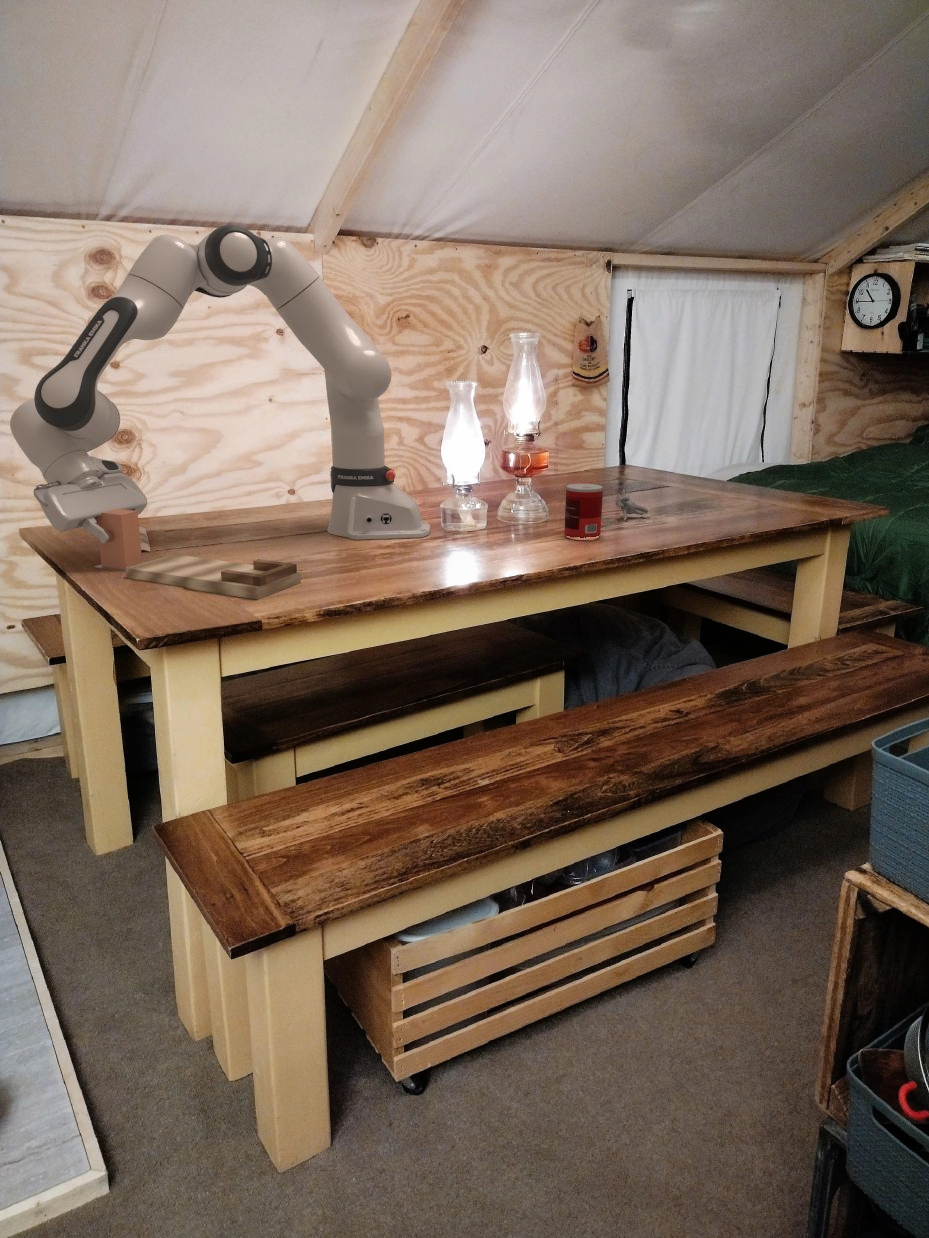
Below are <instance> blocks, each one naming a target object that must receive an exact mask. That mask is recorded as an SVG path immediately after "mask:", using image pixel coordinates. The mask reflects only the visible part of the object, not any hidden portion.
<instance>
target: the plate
mask: <svg viewBox="0 0 929 1238" xmlns="http://www.w3.org/2000/svg"><path fill="white" fill-rule="evenodd" d="M93 568H97V569H104V570H111V571H118V572H124V573H126V570H123V569H116V568H110V567H103V566H101V564H99V565H95V566H93Z"/></svg>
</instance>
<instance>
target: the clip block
mask: <svg viewBox="0 0 929 1238" xmlns="http://www.w3.org/2000/svg"><path fill="white" fill-rule="evenodd" d="M96 519H97V525H98V526H100V527H101V528H103V529H104V530H106V529H108V530H109V531H110V533H111V534H112V535H113V538H112V539H111V541H110V542H106V543H102V542H101V541H100V540H99V539H98V546H99V553H100V554H99V555H100V565H101V566H103V567H110V568H116V569H123V570H126V568H128V567H131V566H135V565H138V564H142V563H143V555H142V553H143V552H142V550H141V542H140V531H139V526H140V523H139V522H140V521H139V515H138V511H131V510H122V509H116V510H111V511H107V512H102V514H101V515H100V516H96Z"/></svg>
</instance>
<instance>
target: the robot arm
mask: <svg viewBox="0 0 929 1238" xmlns="http://www.w3.org/2000/svg"><path fill="white" fill-rule="evenodd" d="M247 286H251V287H254V288H256V289H257V290H259V291H260V292H261V293H262V294H263V295H264V296H265V297H266V298H267V300H268V301H269V302H270V303H271V306H272V307H273V308H274V309H275V310H276V312H277V314H278V315H279V316H280V317H281V319H282V320H283V321H284V322H285V324H286V325H287V327H288V328H289V329H290V331H291V332H292V333H293V334H294V336H295V337H296V338H297V340H298V341H299V342H300V344H301V345H302V346H303V347H304V348H305V349H306V350H307V351H308V352H309V353H310V354H311V356H312V357H314V359H315V360H316V361H317V363H318V364H319V365H320V366H321V367H322V368H323V370H324V379H325V389H326V397H327V404H328V405H327V406H328V412H329V413H328V414H329V419H330V426H331V448H332V449H331V453H332V454H331V455H332V465H331V467H330V489H331V493H332V499H331V501H332V502H331V511H330V517H329V522H328V527H327V528H326V529H327V530H326V532H327V533H329V534H331V535H335V536H340V537H345V538H347V539H351V540H357V541H358V540H374V539H375V540H380V539H381V540H382V539H408V538H409V539H412V538H413V539H414V538H423V537H427V536H428V535H430V534H431V531H432V529H431V525H430V523H429V522H426V521H423V520H422V517H421V511H420V507H419V504H418V503H417V501H416V500H415V499H414V498H413V497H411V495H409V494H408V493H406V492H405V491H404V490H403V489H402V488H400V487H399V486H397V484H395V479H396V472H395V470H394V469H393V468H392V467H391V468H390V467H388V466H387V465H386V464H385V427H384V424H383V421H382V415H381V410H380V401H379V397H381V396H382V395H383V394H384V393H385V392H386V391H387V390H388V389H389V387H390V384H391V381H392V369H391V366H390V363H389V362H388V361H389V360H387V358H386V357H385V355H383V353H382V352H381V351H380V350H379V349H378V348H377V346H376V345H375V344H374V342H373V341H372V340H371V338H370V337H369V336H368V335H367V334H366V333H365V332H364V331H363V329H362V328H361V327H360V326H359V325H358V323H356V321H355V320H354V319H353V318H352V317H351V315H349V313H348V312H347V311H346V310H345V308H344V307H343V306H342V305H341V303H340V302H339V301H338V299H337V298H336V296H335V295H334V294H333V293H332V291H331V289H330V288H329V287H328V286H327V284H326V282H325V281H324V280H323V279H322V277H321V276H320V274H319V273H318V272H317V270H316V269H315V268H314V267H313V265H312V264H311V263H310V261H308V259H307V258H306V257H305V256H304V255H303V254H302V252H300V250H298V249H297V248H296V247H295V246H294V245H293V244H292V243H291V241H289V240H288V239H286V238H283V237H282V236H281V237H280V236H276V237H274V236H273V237H270V238H267V239H265V238H262V237H261V236H259V235H256V234H254V232H251V231H250V230H249V229H247V228H244V226H240V225H235V224H227V225H226V224H225V225H221V226H219V227H217V228H215V229H214V230H213V231H212V232H210V233H208V234H207V235H205V236H204V237H203V238H202V239H201V241H200V242H198V243H197V244H191V243H188V242H186V241H184V240H183V239H182V238H181V237H177V236H174V235H170V234H160V235H158V236H156V237H155V238H153V239H152V240H151V241H150V243H148V245H146V247H145V248H144V249H143V251H142V252H141V253H140V254H139V256H138V257H137V259H136V260H135V262H134V263H133V264H132V266H131V268H130V269H129V271H128V274H126V276H125V278H124V280H123V281H122V284H121V285H120V286H119V288H118V289H117V291H116V292H115V293H114V294H113V296H112V297H111V298H109V299H108V300H107V301H105V302H104V303H103V304H102V305H101V307H100V308H98V310H97V311H96V312H95V313H94V316H92V318H91V319H90V321H89V322H88V323H87V325H86V326H85V327H84V330H82V332H81V333H80V335H79V336H78V338H77V339H76V341H75V342H74V343H73V345H72V347H71V348H70V349H69V351H68V352H67V353H66V355H65V356H64V357H63V359H61V360H60V362H59V363H58V364H56V366H55V367H53V368H52V369H50V370H49V371H48V372H47V373H45V375H44V376H42V378H40V379H39V382H38V383H37V385H36V387H35V391H34V397H33V399H30V400H26V401H25V402H23V403H21V404H20V405H19V406H18V407H17V408H16V409H15V410H14V412H13V414H12V415H11V417H10V421H9V426H10V431H11V434H12V436H13V438H14V440H15V441H16V443H17V445H18V446H19V448H20V449H21V451H22V452H23V453H24V455H25V456H26V458H27V459H28V461H30V462H31V464H32V465H34V466H35V467H37V469H39V471H40V472H41V475H42V477H43V480H45V482H46V484H45V483H40V484H37V485H36V486H35V488H33V497H34V498H35V499H36V500H37V502H38V503H39V504H40V507H41V510H42V511H43V513H44V515H45V516H46V518H47V520H48V521H49V523H50V524H51V526H52V527H53V528H54V529H55V530H57V531H59V532H63V533H64V532H67V531H72V530H76V529H80V528H83V530H85V532H87V533H89V534H90V535H93V536H95V537H96V538H97V539H98V541H99V540H100V541H101V542H102V543H106V542H110V541H111V539H112V538H113V535H112V534H111V533H110V531H109V530H108V529H106V530H104V529H103V528H101V527H100V526H98V525H97V519H96V516H100V515H101V514H102V512H107V511H111V510H116V509H122V510H131V511H138V516H139V515H141V514H142V512H144V510H145V509H146V507H147V505H148V498H147V496H146V495H145V493H144V492H143V491H142V489H141V488H140V487H139V486H138V484H137V483H136V482H135V481H134V480H133V479H132V477H130V476H129V475H127V474H126V473H123V471H124V468H123V466H122V464H120V462H118V461H114V460H108V459H103V458H98V457H95V456H90V455H89V454H88V453H89V452H92V451H93V450H95V449H97V448H99V447H100V446H102V445H104V444H105V443H107V442H109V441H110V440H112V438H113V437H115V435H116V434H117V433H118V431H119V428H120V424H121V415H120V411H119V409H118V407H117V406H116V405H115V403H114V402H113V401H112V400H111V399H109V397H107V396H106V395H105V394H104V393H103V392H101V391H99V389H98V383H99V380H100V378H101V376H102V375H103V373H104V372H105V370H106V369H107V367H108V366H109V364H110V363H111V361H112V360H113V358H114V357H115V356H116V354H117V353H118V351H119V350H120V348H121V347H122V346H123V345H124V344H125V343H128V341H131V340H132V341H133V340H141V341H155V340H157V339H158V340H159V339H161V338H164V337H166V335H167V334H168V333H169V332H170V331H171V329H172V328H173V327H174V326H175V325H176V323H177V321H178V319H179V317H180V316H181V314H182V312H183V311H184V308H185V307H186V304H187V303H188V301H189V299H190V297H191V296H192V295H193V293H194V292H198V293H201V294H204V295H206V296H209V297H212V298H219V299H220V298H228V297H231V296H232V295H234V294H236V293H238V292H240V291H242V290H244V289H245V288H246V287H247Z"/></svg>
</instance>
